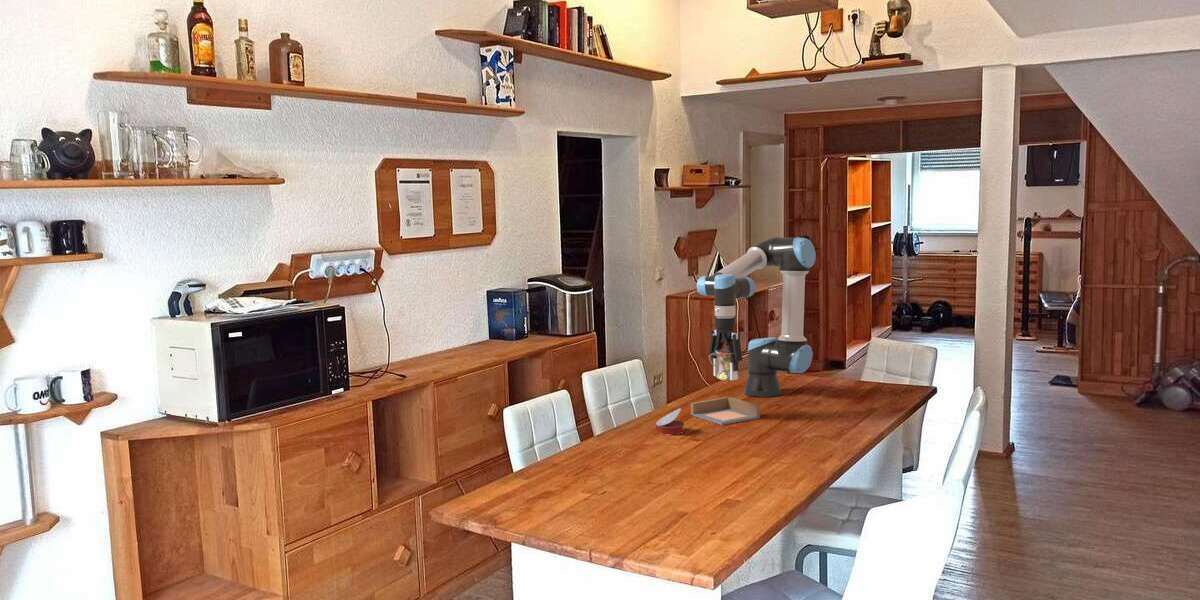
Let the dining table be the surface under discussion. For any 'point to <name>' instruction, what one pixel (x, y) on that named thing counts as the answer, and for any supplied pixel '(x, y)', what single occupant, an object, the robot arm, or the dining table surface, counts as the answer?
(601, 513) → the dining table surface
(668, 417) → the canned food
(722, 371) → the mug
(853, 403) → the dining table surface
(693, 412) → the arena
